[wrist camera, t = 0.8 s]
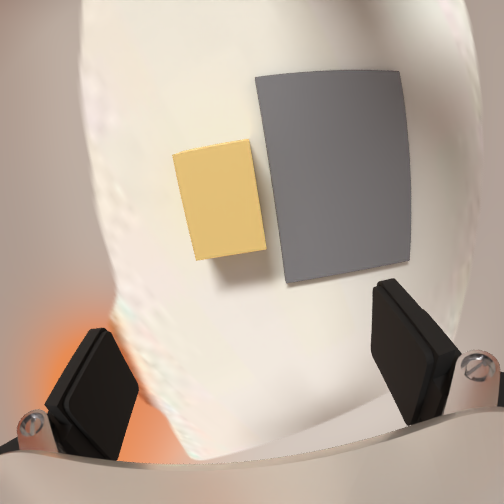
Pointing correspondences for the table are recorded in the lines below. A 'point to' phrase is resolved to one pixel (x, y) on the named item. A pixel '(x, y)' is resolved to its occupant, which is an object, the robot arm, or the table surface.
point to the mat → (338, 169)
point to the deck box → (220, 199)
